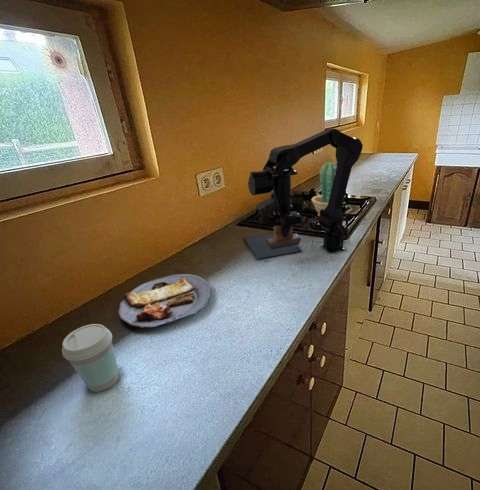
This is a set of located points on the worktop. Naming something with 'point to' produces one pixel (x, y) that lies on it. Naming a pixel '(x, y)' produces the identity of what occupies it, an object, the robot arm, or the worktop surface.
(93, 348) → the coffee cup
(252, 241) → the mat
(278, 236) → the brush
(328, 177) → the potted cactus
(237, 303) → the worktop surface
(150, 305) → the food plate
